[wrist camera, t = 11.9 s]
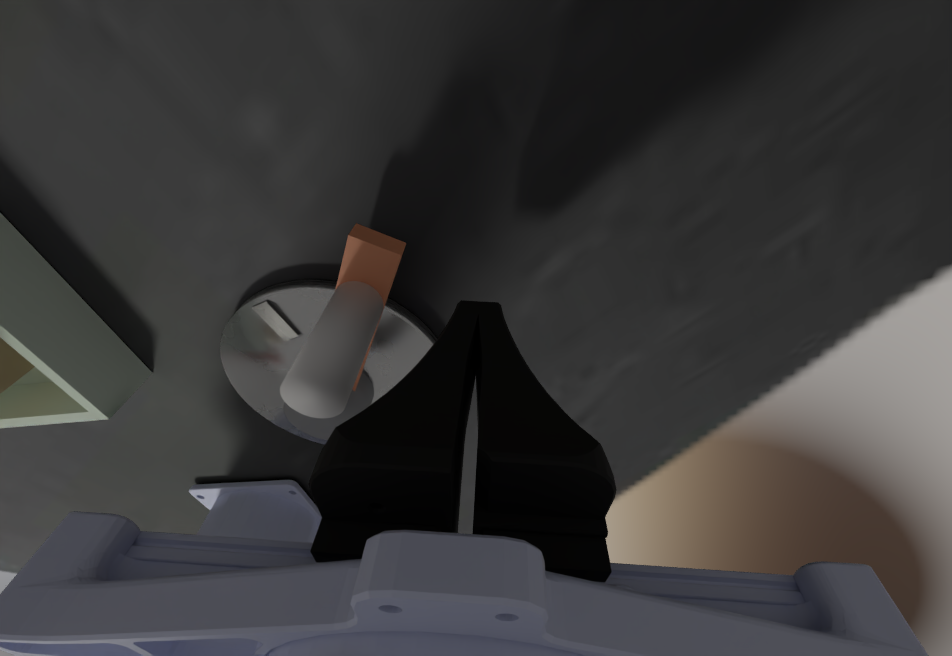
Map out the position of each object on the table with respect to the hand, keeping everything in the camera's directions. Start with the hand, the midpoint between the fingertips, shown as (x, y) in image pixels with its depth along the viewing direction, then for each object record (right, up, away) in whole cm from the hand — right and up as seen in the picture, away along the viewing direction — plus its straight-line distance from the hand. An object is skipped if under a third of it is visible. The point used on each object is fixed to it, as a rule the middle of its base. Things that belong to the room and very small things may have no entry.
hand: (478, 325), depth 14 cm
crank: (-5, 0, +4) cm, 7 cm away
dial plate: (-7, -2, +7) cm, 10 cm away
